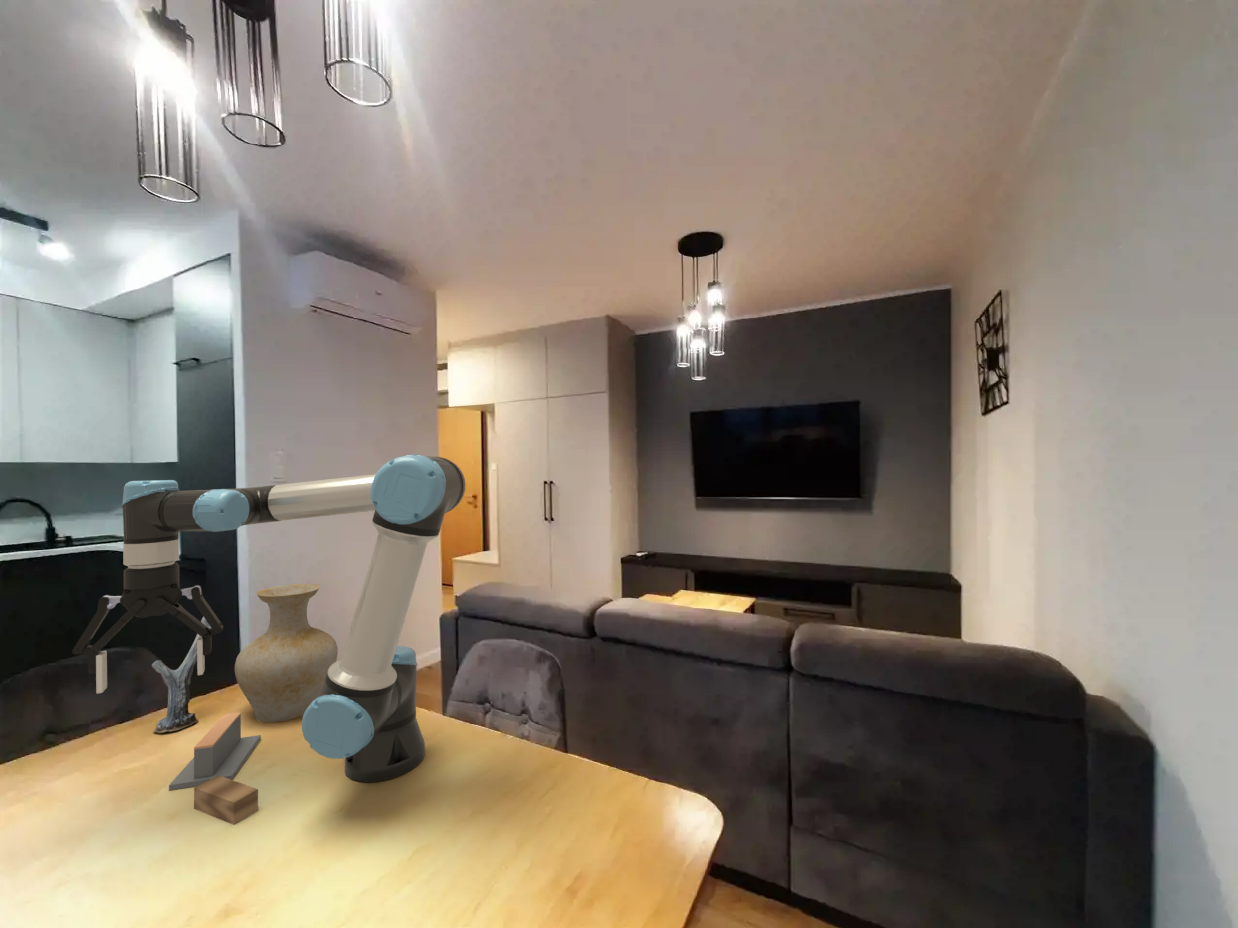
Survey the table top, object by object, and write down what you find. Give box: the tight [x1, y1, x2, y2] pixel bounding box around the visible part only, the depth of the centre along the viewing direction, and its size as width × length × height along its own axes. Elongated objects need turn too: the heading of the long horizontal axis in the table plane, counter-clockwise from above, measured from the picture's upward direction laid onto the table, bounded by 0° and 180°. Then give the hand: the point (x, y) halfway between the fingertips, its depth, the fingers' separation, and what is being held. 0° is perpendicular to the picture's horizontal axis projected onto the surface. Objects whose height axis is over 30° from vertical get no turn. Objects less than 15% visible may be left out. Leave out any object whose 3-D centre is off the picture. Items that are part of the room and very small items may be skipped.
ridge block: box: [168, 712, 262, 791], centre depth 106 cm, size 10×16×7 cm, turn 18°
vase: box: [234, 583, 339, 723], centre depth 130 cm, size 22×22×30 cm
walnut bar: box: [193, 775, 259, 826], centre depth 92 cm, size 11×4×4 cm, turn 68°
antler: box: [151, 616, 211, 734], centre depth 123 cm, size 12×8×25 cm
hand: (153, 681), depth 94 cm, fingers open, 13 cm apart
